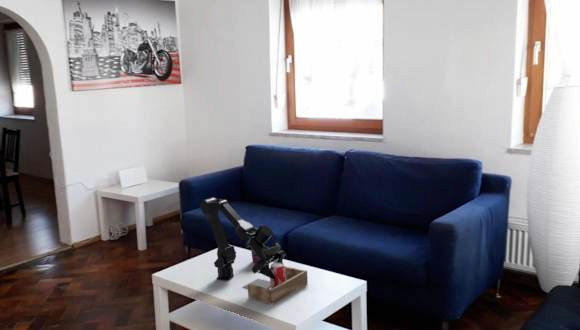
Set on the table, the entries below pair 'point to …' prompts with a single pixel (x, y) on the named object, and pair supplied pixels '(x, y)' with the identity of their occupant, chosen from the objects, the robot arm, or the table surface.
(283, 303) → the table surface
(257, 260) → the cup
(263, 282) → the mat
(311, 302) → the table surface
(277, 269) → the soda can
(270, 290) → the crate
